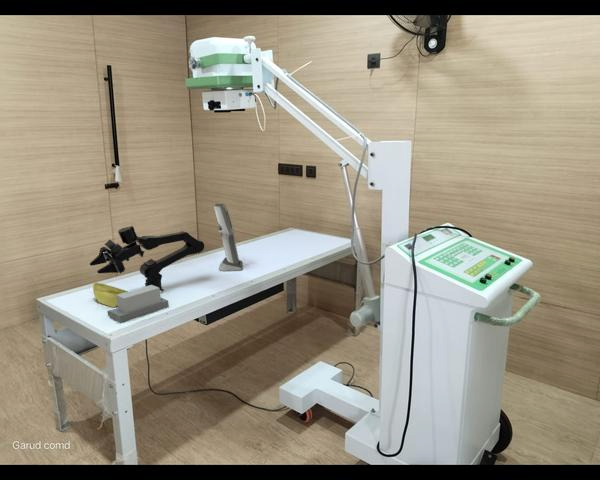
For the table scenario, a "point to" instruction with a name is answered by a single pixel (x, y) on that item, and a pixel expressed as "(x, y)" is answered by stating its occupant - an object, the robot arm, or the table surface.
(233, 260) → the grey tall upright piece
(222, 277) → the table surface
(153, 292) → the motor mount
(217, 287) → the table surface
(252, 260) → the table surface
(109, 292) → the yellow long curved piece
